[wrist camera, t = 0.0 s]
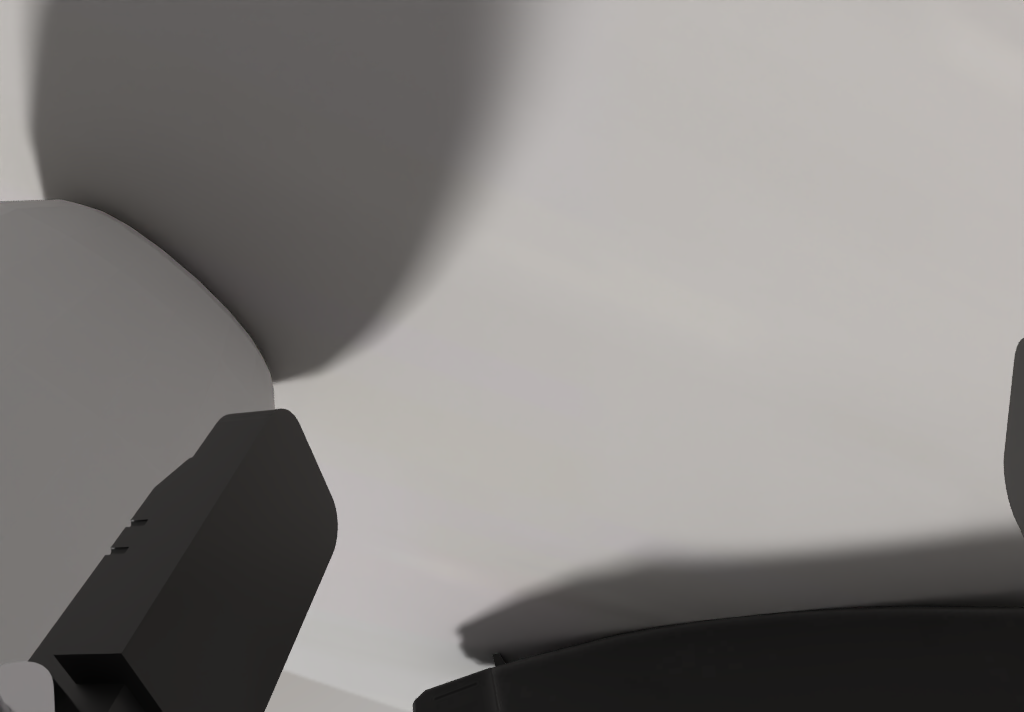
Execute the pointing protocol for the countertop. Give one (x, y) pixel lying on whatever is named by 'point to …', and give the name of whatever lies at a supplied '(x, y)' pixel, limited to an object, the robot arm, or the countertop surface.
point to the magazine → (769, 666)
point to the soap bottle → (97, 395)
